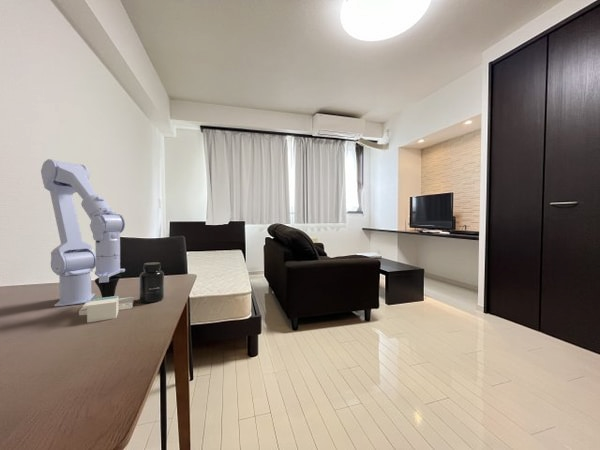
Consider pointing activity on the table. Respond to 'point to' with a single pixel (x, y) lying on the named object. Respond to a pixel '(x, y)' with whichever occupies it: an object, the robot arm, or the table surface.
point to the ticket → (122, 302)
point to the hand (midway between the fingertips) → (108, 301)
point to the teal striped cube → (102, 309)
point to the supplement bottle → (151, 283)
